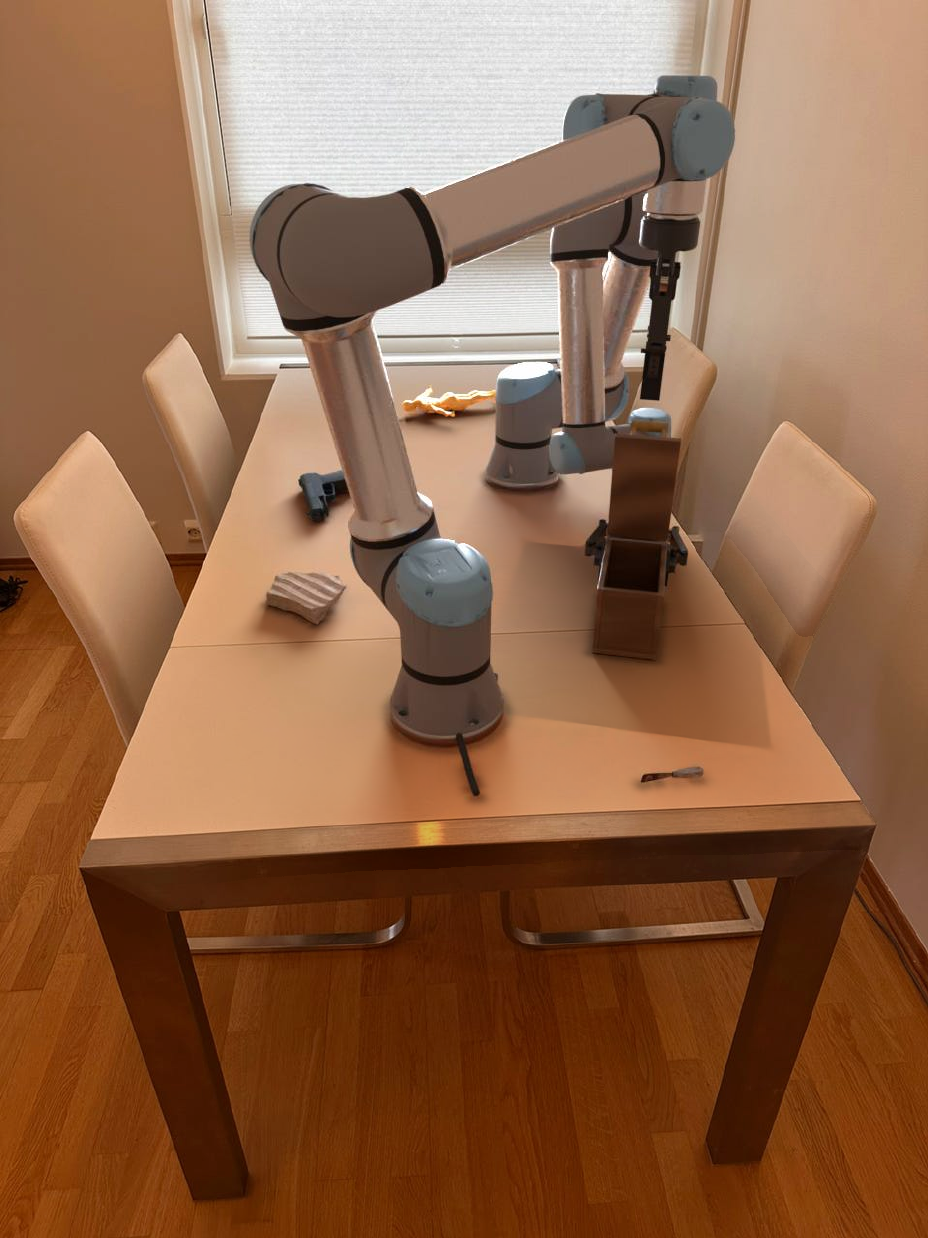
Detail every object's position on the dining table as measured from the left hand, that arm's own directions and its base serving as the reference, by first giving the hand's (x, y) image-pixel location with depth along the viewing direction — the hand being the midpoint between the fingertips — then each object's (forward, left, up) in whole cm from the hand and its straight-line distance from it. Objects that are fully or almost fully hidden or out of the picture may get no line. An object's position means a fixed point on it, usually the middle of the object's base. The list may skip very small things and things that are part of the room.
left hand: (650, 393), depth 127 cm
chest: (-8, 0, -35) cm, 35 cm away
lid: (-1, 0, -15) cm, 15 cm away
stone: (-11, +51, -35) cm, 63 cm away
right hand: (-2, 0, -29) cm, 29 cm away
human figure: (+86, +49, -35) cm, 105 cm away
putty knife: (-42, -8, -35) cm, 55 cm away
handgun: (+28, +60, -35) cm, 75 cm away
